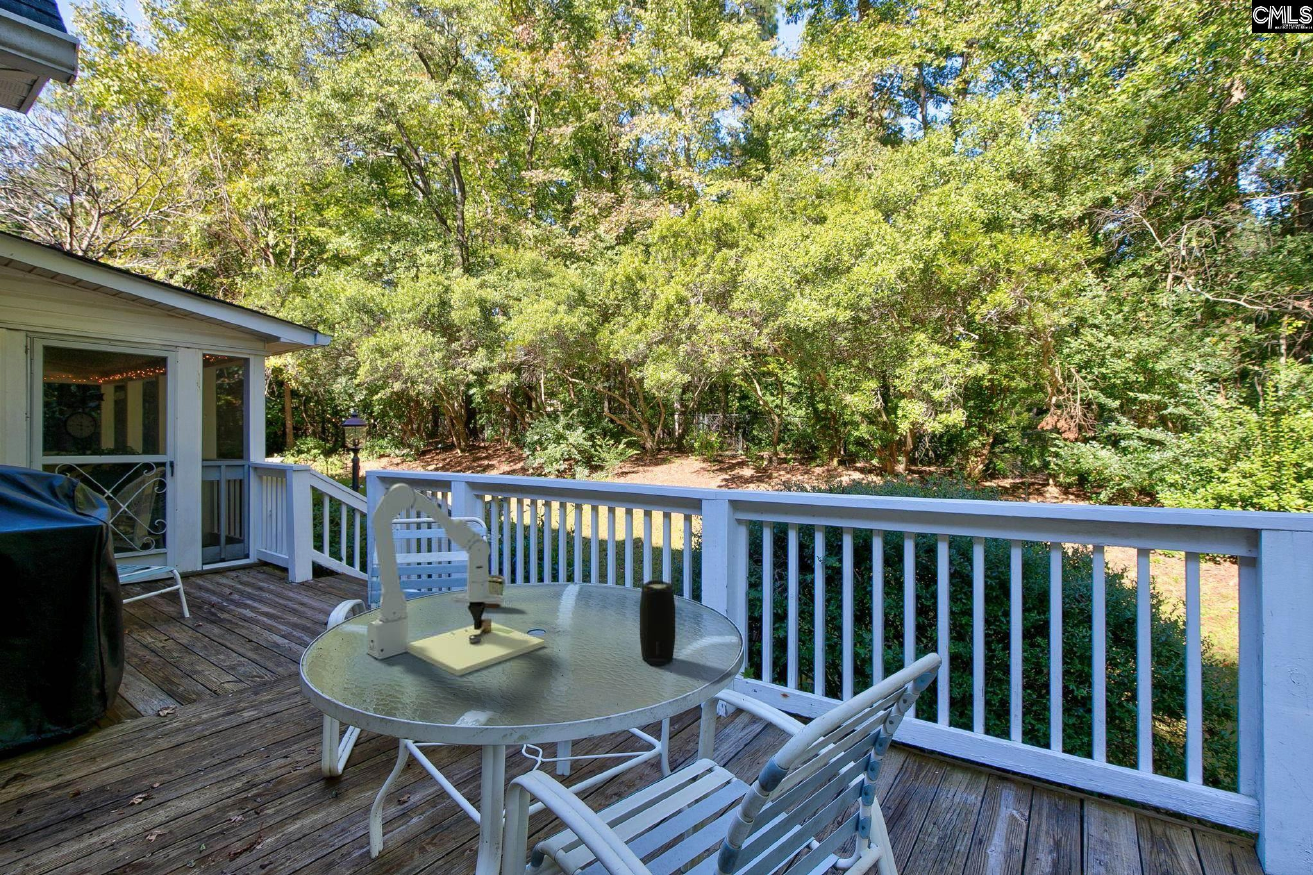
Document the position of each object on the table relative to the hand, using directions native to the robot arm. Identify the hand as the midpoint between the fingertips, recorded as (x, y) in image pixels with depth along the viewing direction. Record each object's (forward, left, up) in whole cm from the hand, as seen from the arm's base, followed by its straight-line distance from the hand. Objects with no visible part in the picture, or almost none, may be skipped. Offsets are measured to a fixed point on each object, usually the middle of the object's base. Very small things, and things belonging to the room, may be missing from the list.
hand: (477, 628), depth 166 cm
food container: (+20, +24, -3) cm, 31 cm away
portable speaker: (+20, -49, -3) cm, 53 cm away
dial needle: (-1, -3, -1) cm, 4 cm away
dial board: (-5, -6, -3) cm, 8 cm away
